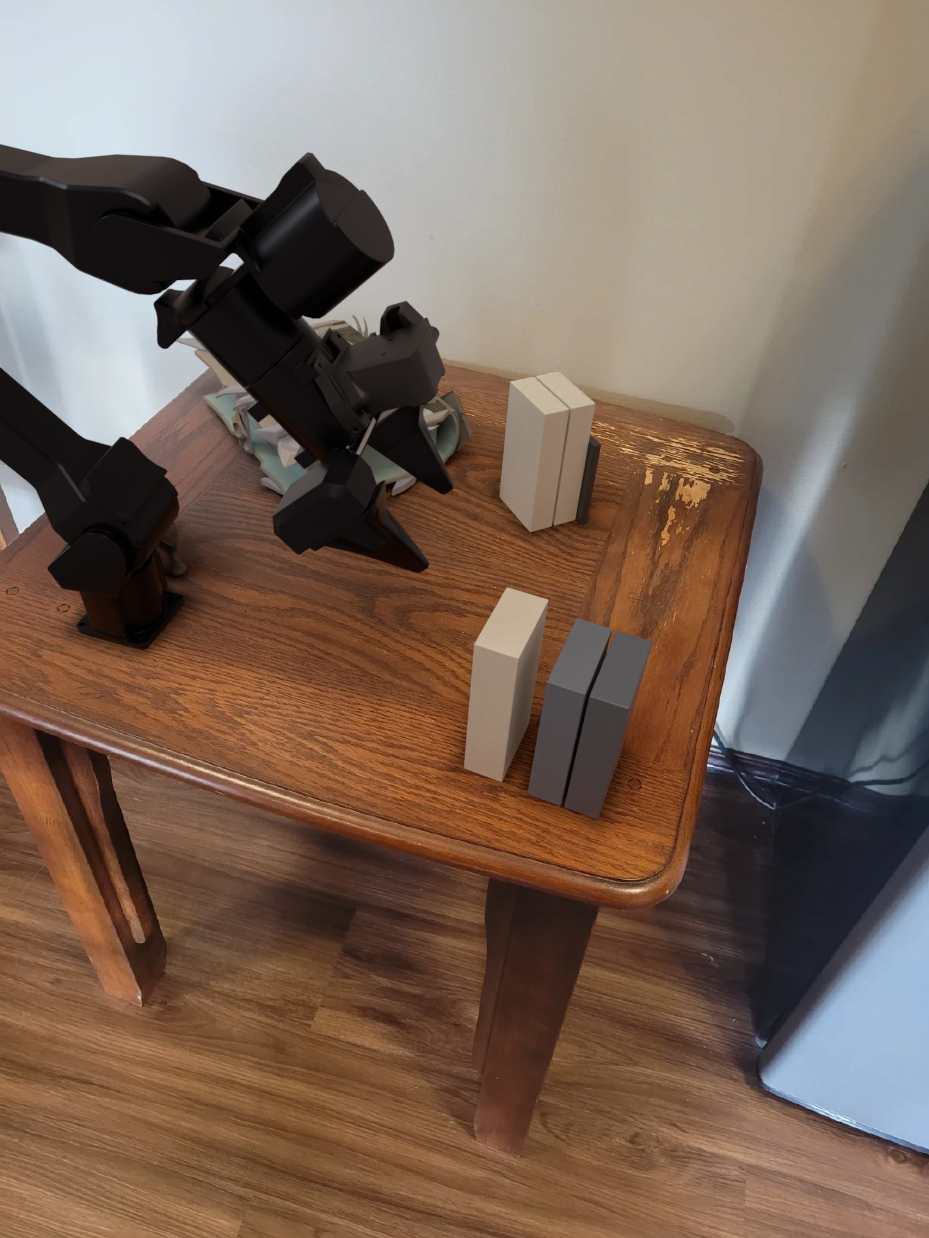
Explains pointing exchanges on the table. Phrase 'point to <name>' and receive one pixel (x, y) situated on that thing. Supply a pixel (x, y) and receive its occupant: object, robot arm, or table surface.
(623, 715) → the grey books
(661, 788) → the table surface
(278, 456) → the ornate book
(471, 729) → the white book
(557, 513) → the white books
